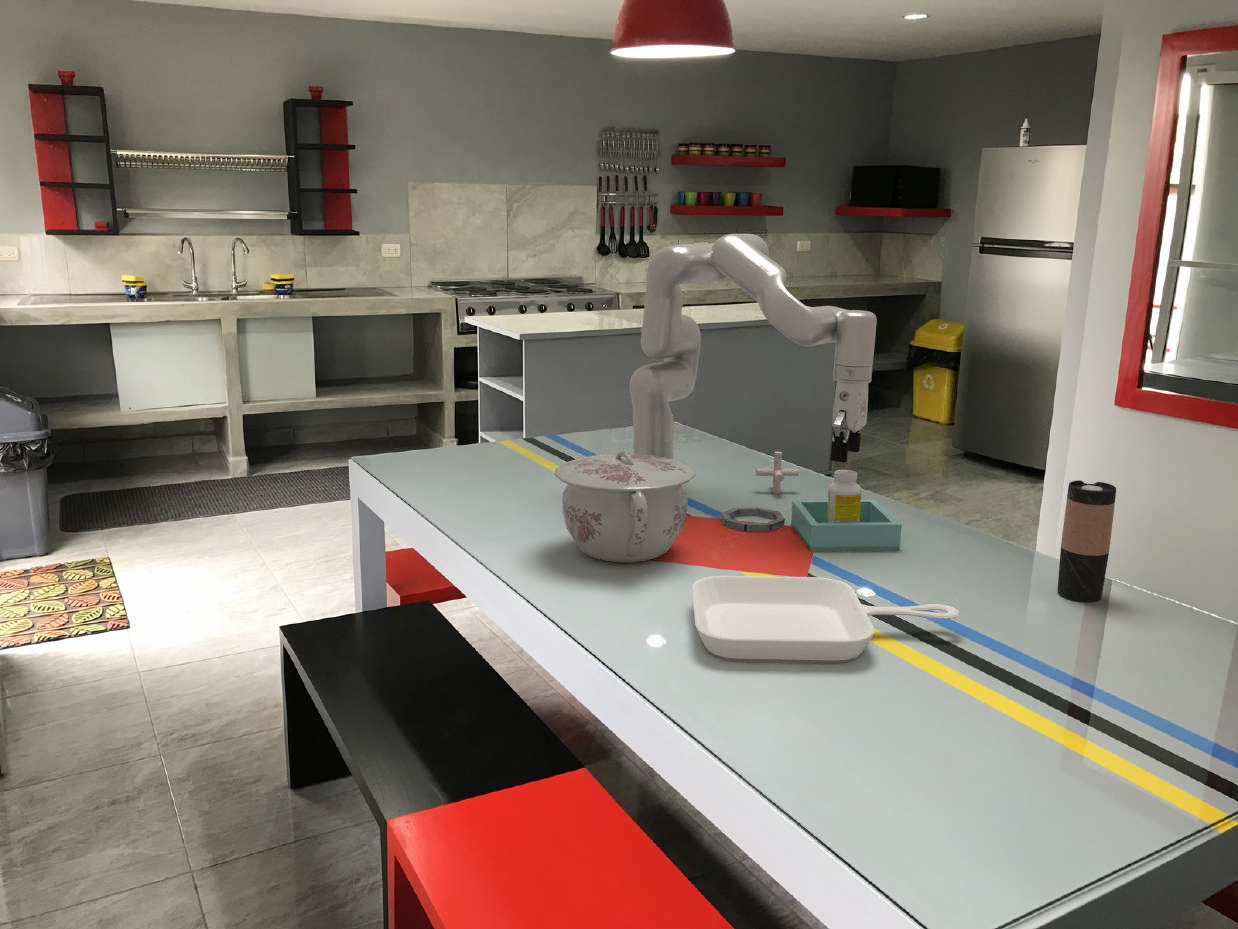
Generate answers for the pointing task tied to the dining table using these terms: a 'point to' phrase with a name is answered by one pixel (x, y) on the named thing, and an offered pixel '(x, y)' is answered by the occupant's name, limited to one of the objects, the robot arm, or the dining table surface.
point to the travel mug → (1086, 540)
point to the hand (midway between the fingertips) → (845, 456)
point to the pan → (788, 618)
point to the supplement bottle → (844, 498)
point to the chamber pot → (624, 504)
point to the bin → (845, 528)
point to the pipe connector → (777, 472)
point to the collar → (753, 527)
